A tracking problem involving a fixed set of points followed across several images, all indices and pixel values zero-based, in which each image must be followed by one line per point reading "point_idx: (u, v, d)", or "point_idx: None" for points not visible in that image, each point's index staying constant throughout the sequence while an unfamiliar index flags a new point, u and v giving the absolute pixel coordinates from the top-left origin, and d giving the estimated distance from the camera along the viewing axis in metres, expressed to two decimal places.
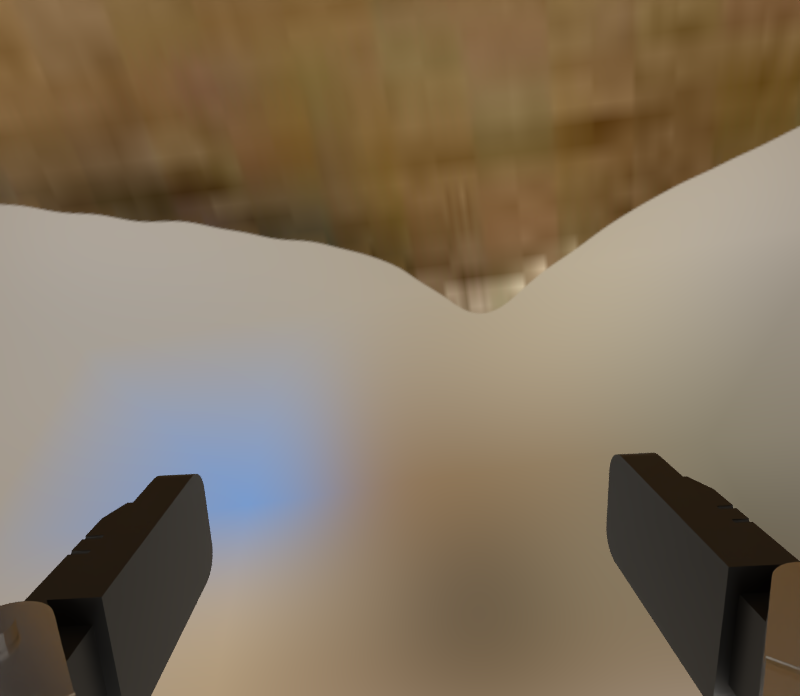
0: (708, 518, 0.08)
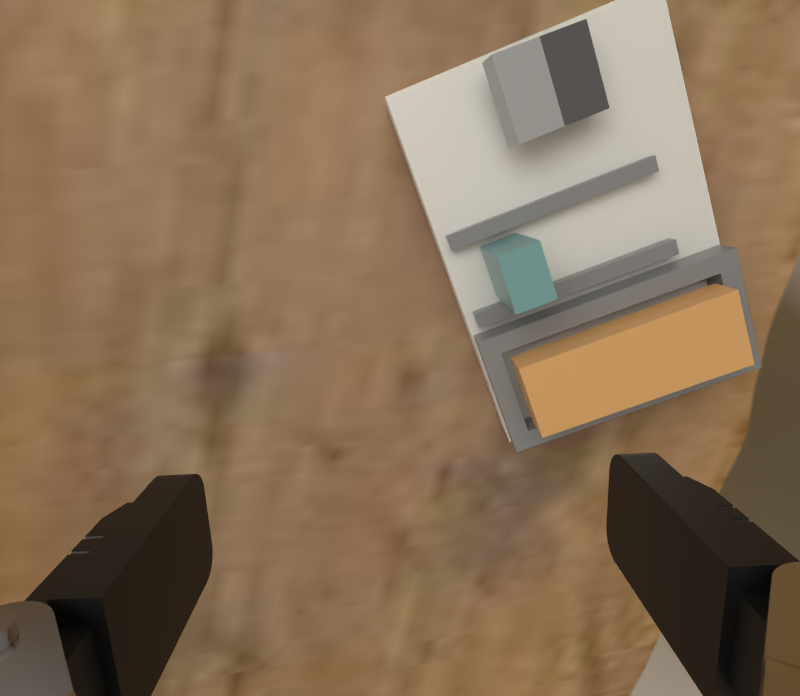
0: (708, 518, 0.08)
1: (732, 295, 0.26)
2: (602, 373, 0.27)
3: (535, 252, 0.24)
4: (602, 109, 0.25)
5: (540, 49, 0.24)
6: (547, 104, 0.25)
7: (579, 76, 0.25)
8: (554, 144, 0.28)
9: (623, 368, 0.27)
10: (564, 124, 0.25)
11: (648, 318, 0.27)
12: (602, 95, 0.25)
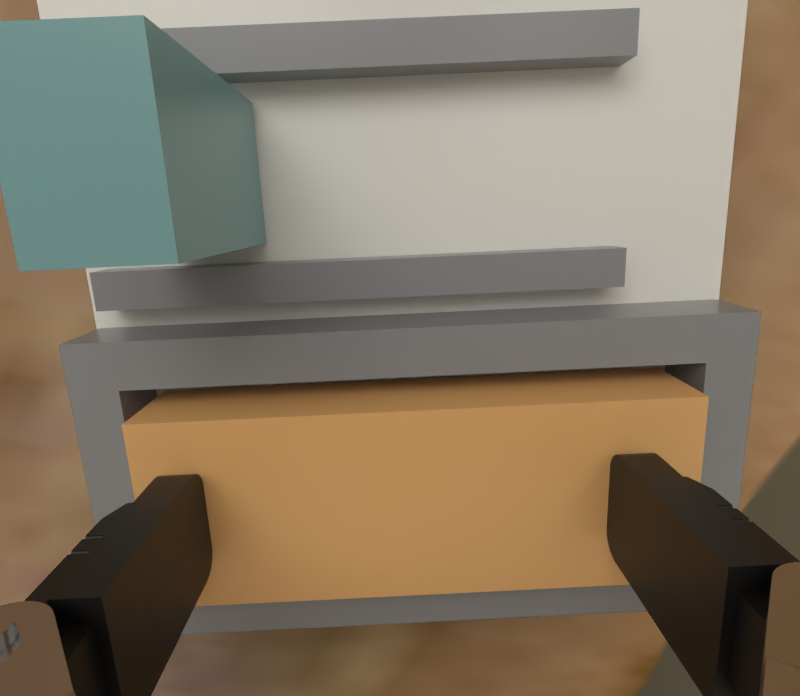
0: (708, 518, 0.08)
1: (691, 406, 0.10)
2: (333, 498, 0.11)
3: (120, 58, 0.06)
4: None
5: None
6: None
7: None
8: None
9: (387, 502, 0.11)
10: None
11: (482, 399, 0.11)
12: None
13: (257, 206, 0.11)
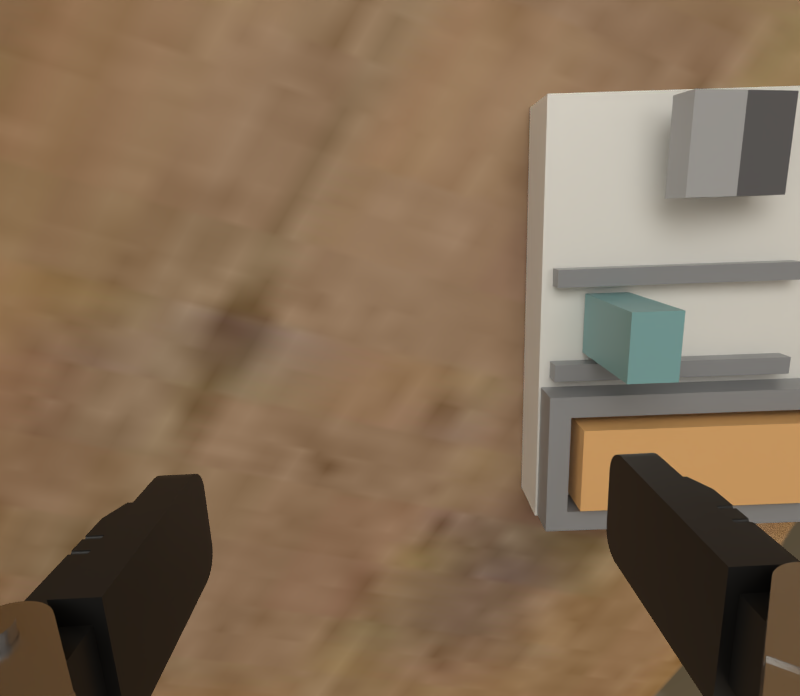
0: (708, 518, 0.08)
1: None
2: None
3: (675, 322, 0.20)
4: (777, 193, 0.23)
5: (743, 104, 0.21)
6: (728, 166, 0.22)
7: (770, 149, 0.22)
8: (704, 212, 0.24)
9: (688, 465, 0.25)
10: (736, 194, 0.22)
11: (729, 421, 0.25)
12: (783, 178, 0.22)
13: None
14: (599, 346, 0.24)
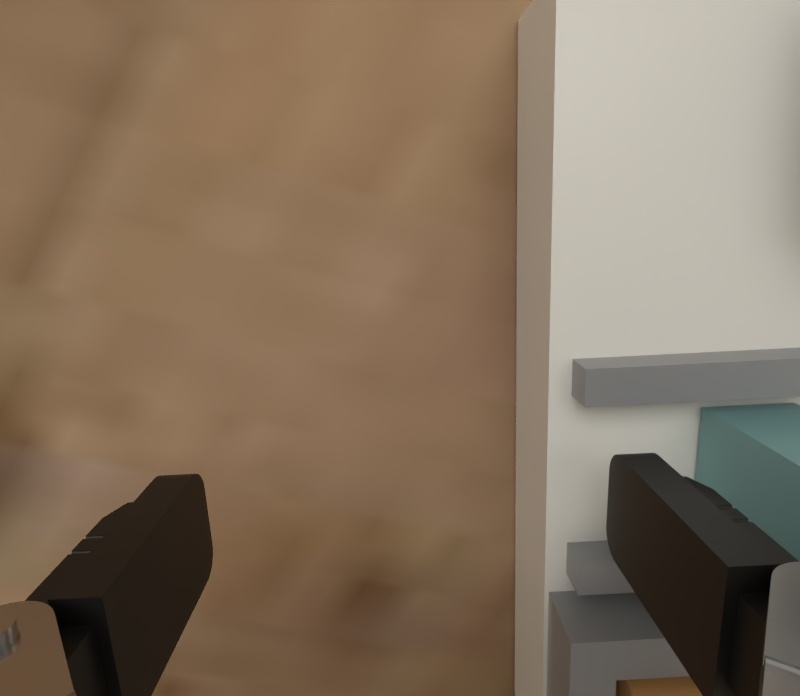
0: (708, 518, 0.08)
1: None
2: None
3: None
4: None
5: None
6: None
7: None
8: None
9: None
10: None
11: None
12: None
13: None
14: None
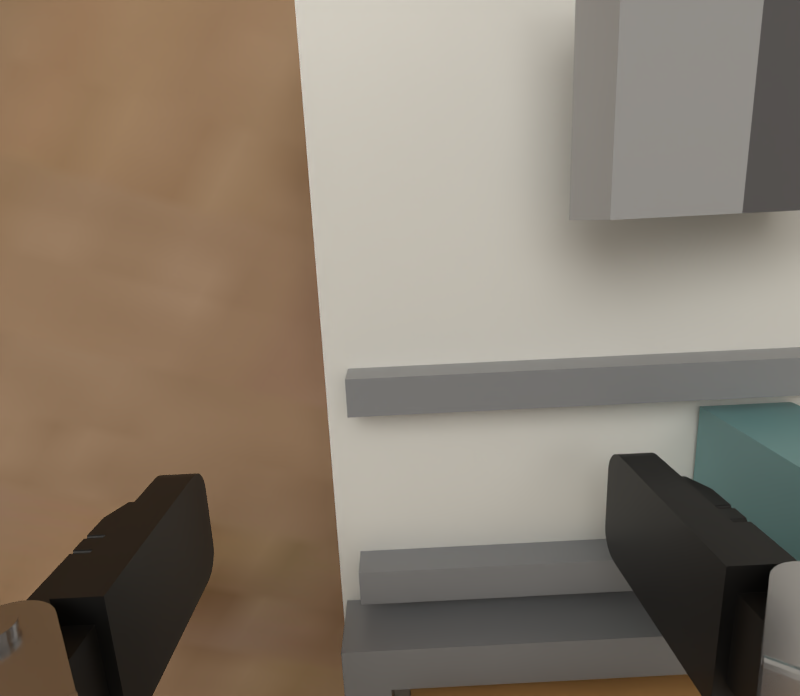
0: (706, 517, 0.08)
1: None
2: None
3: None
4: None
5: None
6: (721, 136, 0.08)
7: None
8: (670, 245, 0.11)
9: None
10: (743, 208, 0.09)
11: None
12: None
13: None
14: None
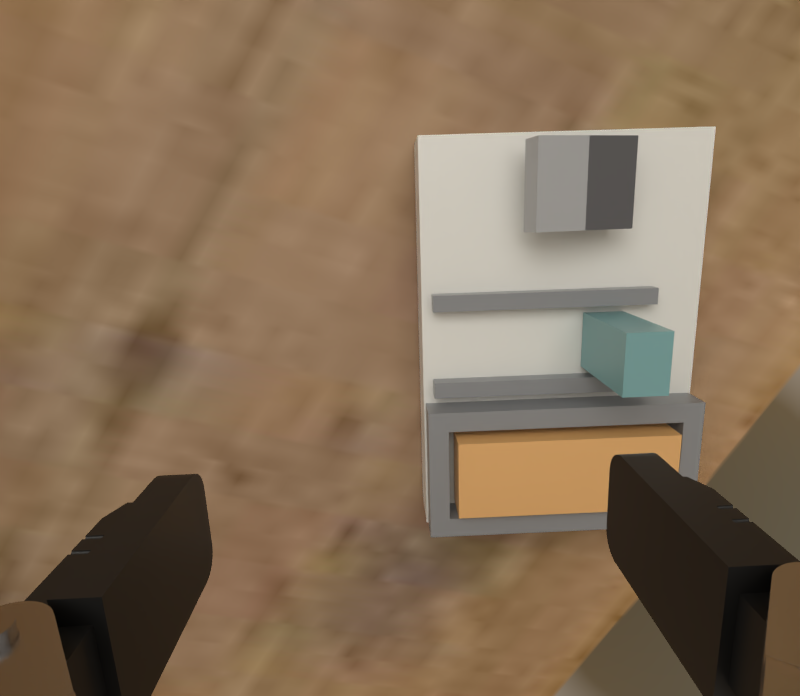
0: (708, 518, 0.08)
1: (675, 438, 0.27)
2: (535, 473, 0.27)
3: (665, 341, 0.23)
4: (625, 227, 0.25)
5: (586, 148, 0.23)
6: (575, 203, 0.24)
7: (614, 187, 0.24)
8: (567, 242, 0.27)
9: (556, 475, 0.27)
10: (585, 228, 0.24)
11: (594, 435, 0.27)
12: (629, 213, 0.25)
13: None
14: (596, 361, 0.26)
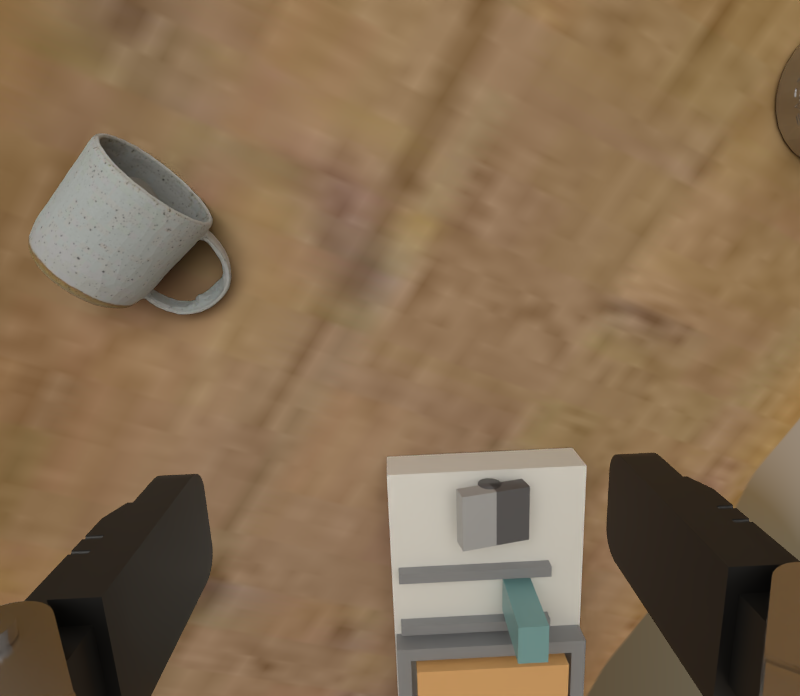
0: (708, 518, 0.08)
1: (564, 666, 0.39)
2: (470, 689, 0.40)
3: (544, 632, 0.35)
4: (524, 539, 0.37)
5: (494, 499, 0.36)
6: (489, 531, 0.37)
7: (515, 518, 0.37)
8: None
9: (484, 690, 0.40)
10: (496, 544, 0.37)
11: (510, 662, 0.40)
12: (526, 531, 0.37)
13: None
14: (508, 621, 0.38)
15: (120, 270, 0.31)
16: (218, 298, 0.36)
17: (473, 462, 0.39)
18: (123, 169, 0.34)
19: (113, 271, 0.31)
